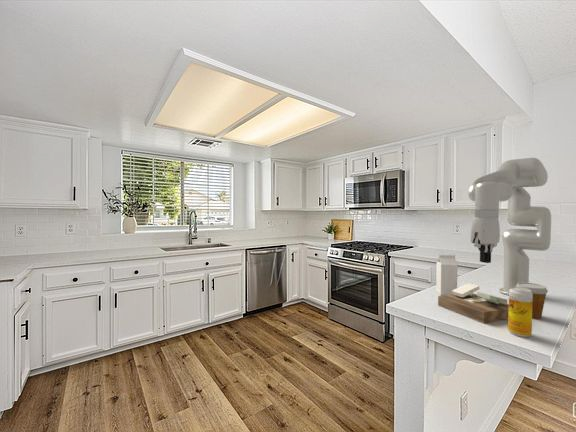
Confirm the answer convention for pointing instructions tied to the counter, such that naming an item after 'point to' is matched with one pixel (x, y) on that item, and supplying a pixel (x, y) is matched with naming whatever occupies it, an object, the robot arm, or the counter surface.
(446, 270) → the milk carton
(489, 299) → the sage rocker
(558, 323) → the counter surface
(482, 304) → the switch unit
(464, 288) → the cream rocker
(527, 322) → the beer can
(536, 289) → the disposable coffee cup
